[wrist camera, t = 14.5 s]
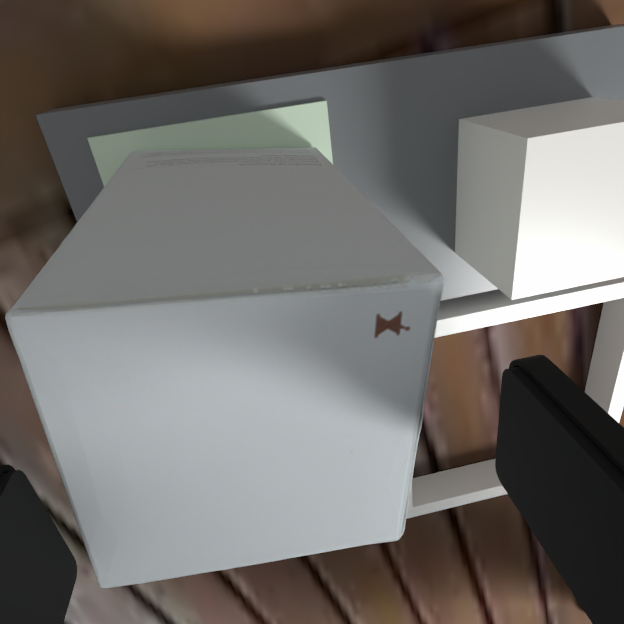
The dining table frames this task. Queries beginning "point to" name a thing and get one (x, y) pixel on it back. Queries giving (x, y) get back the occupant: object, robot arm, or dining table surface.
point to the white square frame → (500, 309)
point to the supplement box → (230, 363)
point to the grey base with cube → (419, 149)
